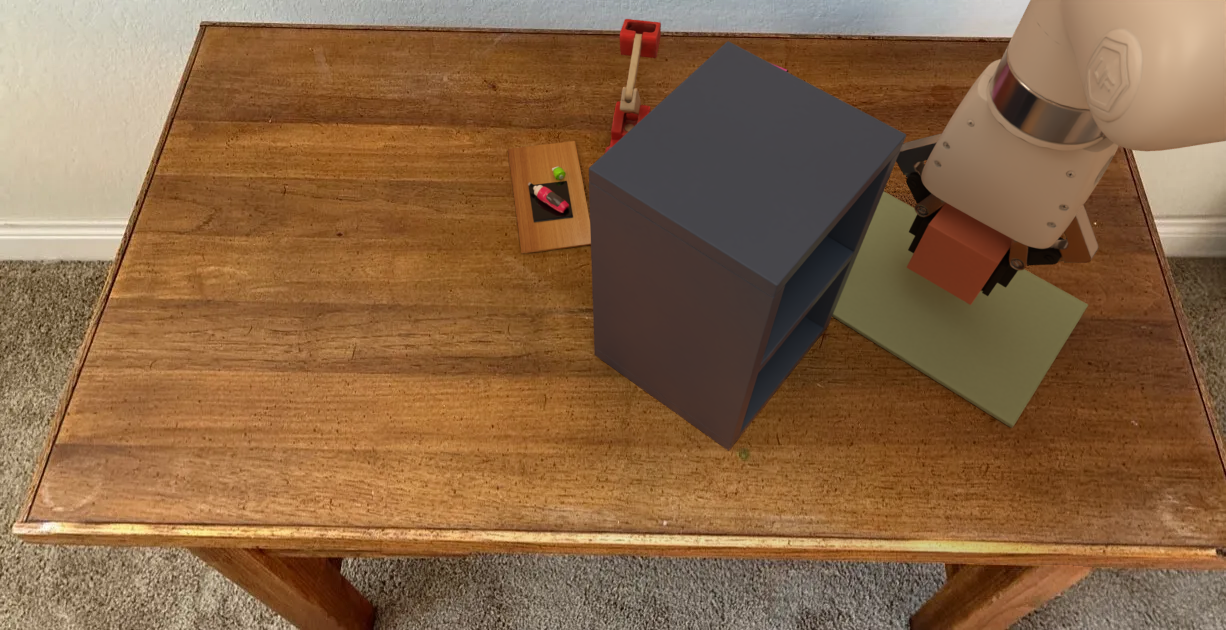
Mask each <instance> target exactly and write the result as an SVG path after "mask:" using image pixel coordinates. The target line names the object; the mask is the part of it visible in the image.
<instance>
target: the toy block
mask: <svg viewBox="0 0 1226 630" xmlns="http://www.w3.org/2000/svg"><path fill="white" fill-rule="evenodd" d="M1010 244H1011V238H1010V237H1008V236H1006V235H1004V234H1002V233H1000V232H998V231H997V230H995V229H993V228H991V227H989V226H987V225H986V224H984V223H982V222H980V221H978V220H976V219H975V218H973V217H971V216H969V215H967V214H966V213H964V212H962V211H960V210H958V209H957V208H955V207H953V206H951V205H950V204H948V203H946V204H945V205H943V207H942V208H941V209H940V210H939V212H938V213H937V214H936V216H935V217H934V218H933V219H932V221H931V222H930V223H929V225H928V227H927V228H926V230H925V232H924V234H923V236H922V238H921V240H920V242H919V244H918V246H917V248H916V250H915V252H914V254H913V256H912V258H911V260H910V262H909V263H908V265H907V268H908V269H910V270H912V271H913V272H915V273H917V274H919V275H920V276H922V277H924V278H925V279H927V280H929V281H930V282H932V283H934V284H936V285H937V286H939V287H941V288H942V289H944V290H946V291H948V292H949V293H951V294H953V295H954V296H956V297H958V298H959V299H961V300H963V301H965V302H966V303H968V304H970V305H971V304H972V303H973V301H974V300H975V298H976V297H977V295H978V294H979V293H980V291H981V290H982V288H983V287H984V285H985V284H986V282H987V281H988V279H989V278H990V276H991V275H992V273H993V272H994V270H995V269H996V267H997V266H998V264H999V263H1000V261H1001V260H1002V258H1003V257H1004V256H1005V254H1006V253H1007V251H1008V250H1009V248H1010Z"/></svg>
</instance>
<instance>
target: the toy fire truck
mask: <svg viewBox="0 0 1226 630" xmlns="http://www.w3.org/2000/svg"><path fill="white" fill-rule="evenodd" d="M661 31H662V23H661V22H660V21H652V20H640V19H632V18H625V19H624V20H623V23H622V26H621V29H620V31H619V39H618V40H619V50H620V52H619V53H620V55H621V56H626V57H627V56H629V57H630V62H629V69H628V76H627V80H626V86H623V87H622V89H621V97H620V101H618V100H617V101H616V103H615V107H614V112H613V118H612V122H611V123H612V124H611V128H610V129H611V130H610V142H609V146H607V147H605V151H604V154H605V153H606V152H607V151H608V150H609V149H610V148H611V147H612V146H613V145H615V144H616V143H617V142H618V141H619V140H620V139H621V138H622V137H623V136H624V135H626V134H627V133H628V132H629V131H630V130H631V129H632V128H633V127H634V126H635V125H636V124H638V123H639V122H640V121H641V120H642V119H643V118H644V117H645V116H646V115H647V114H648V113H650V112H651V106H650V105H646V104H642V101H641V97H640V93H639V89H638V88H637V87H636V84H637V77H638V71H639V64H640V58H647V59H648V58H650V59H657V57H658V52H659V48H660V42H661V38H662V35H661V33H662V32H661Z"/></svg>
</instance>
